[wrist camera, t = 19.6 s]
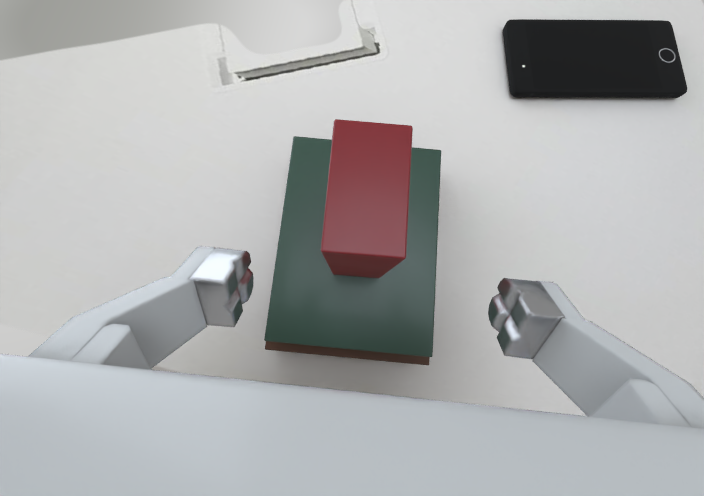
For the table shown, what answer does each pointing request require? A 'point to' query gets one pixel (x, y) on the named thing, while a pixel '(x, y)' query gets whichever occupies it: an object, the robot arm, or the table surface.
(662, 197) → the table surface
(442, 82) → the table surface
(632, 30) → the cell phone
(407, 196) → the upright red rectangular block
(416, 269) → the book pile
